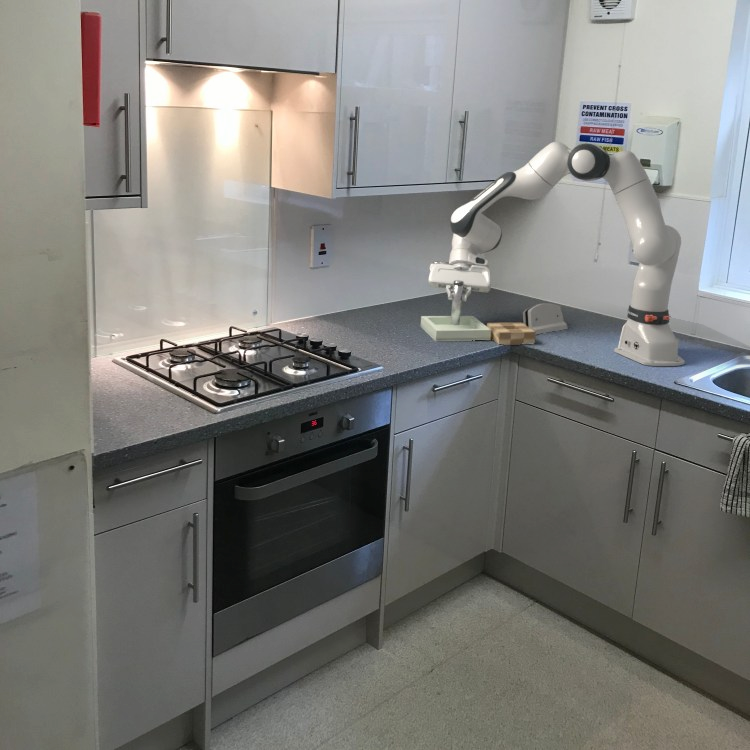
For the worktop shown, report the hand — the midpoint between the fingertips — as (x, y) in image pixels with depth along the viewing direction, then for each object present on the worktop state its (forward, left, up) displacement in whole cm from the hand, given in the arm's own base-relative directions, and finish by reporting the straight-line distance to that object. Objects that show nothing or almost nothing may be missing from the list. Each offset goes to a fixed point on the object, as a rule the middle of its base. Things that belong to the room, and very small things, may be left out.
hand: (457, 299), depth 287 cm
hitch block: (-8, -16, -11) cm, 21 cm away
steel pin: (+1, 0, -8) cm, 8 cm away
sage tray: (0, 0, -11) cm, 11 cm away
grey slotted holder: (+4, -33, -12) cm, 35 cm away
